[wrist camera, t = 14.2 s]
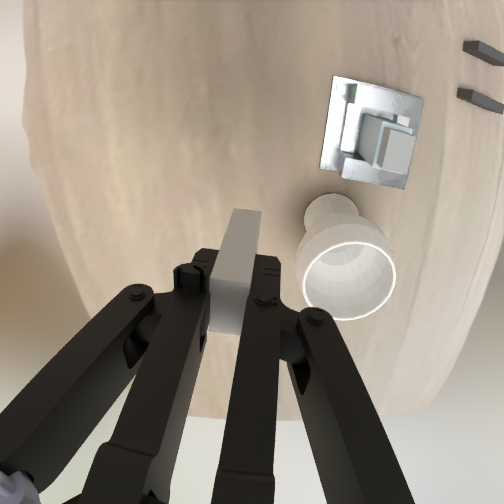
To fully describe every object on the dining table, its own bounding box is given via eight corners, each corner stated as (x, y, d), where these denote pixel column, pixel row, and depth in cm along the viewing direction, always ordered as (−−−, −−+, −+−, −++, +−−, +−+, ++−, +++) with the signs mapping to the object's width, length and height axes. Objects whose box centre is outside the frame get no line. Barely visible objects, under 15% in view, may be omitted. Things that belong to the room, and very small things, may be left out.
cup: (336, 166, 39) (362, 213, 27) (383, 222, 43) (418, 286, 30) (276, 217, 44) (273, 281, 31) (325, 266, 47) (338, 339, 34)
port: (333, 76, 34) (340, 75, 29) (422, 98, 33) (439, 102, 29) (319, 167, 40) (323, 179, 35) (404, 183, 39) (417, 196, 35)
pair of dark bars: (463, 41, 28) (479, 40, 25) (494, 56, 28) (510, 57, 24) (456, 97, 32) (471, 100, 29) (487, 110, 32) (502, 114, 29)
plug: (363, 112, 35) (388, 123, 26) (389, 119, 35) (420, 132, 26) (356, 150, 38) (377, 172, 29) (381, 156, 38) (408, 180, 29)
